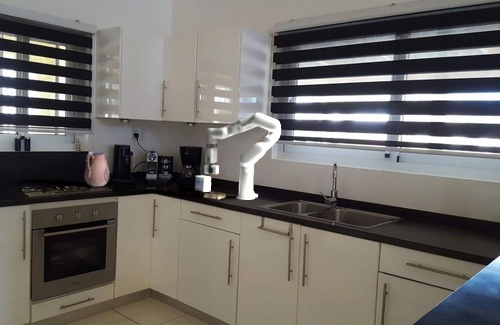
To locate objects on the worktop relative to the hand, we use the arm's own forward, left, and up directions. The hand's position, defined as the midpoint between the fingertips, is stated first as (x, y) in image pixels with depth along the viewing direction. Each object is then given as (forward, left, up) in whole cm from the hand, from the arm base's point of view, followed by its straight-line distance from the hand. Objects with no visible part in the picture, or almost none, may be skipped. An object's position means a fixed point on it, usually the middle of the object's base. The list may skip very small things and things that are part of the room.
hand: (212, 172), depth 282 cm
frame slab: (0, 0, 0) cm, 1 cm away
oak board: (-3, 0, -16) cm, 17 cm away
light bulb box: (+18, -18, -17) cm, 30 cm away
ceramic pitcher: (+90, +17, -17) cm, 93 cm away
